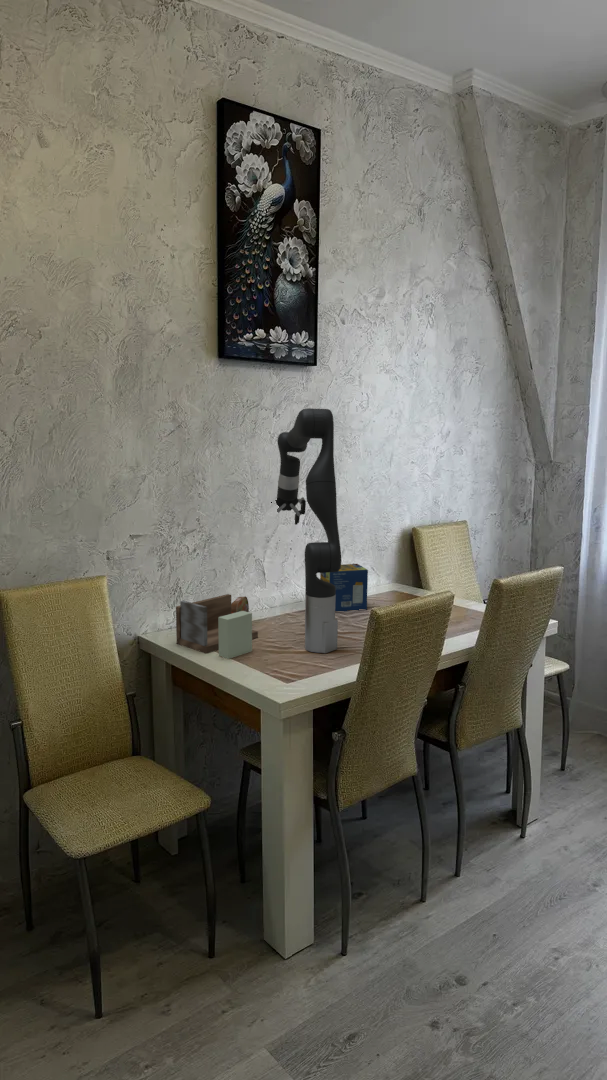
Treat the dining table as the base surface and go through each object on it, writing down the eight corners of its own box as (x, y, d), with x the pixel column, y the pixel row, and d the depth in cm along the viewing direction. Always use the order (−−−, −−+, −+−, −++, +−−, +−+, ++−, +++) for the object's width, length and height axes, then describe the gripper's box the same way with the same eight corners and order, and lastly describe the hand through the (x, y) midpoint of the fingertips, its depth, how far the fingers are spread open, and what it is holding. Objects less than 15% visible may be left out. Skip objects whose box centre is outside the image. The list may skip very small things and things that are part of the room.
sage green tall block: (252, 651, 229) (251, 613, 227) (227, 659, 221) (227, 619, 219) (242, 648, 231) (242, 610, 229) (218, 656, 224) (218, 617, 222)
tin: (237, 629, 252) (237, 604, 250) (228, 628, 252) (228, 604, 251) (249, 617, 266) (249, 594, 265) (241, 616, 267) (241, 593, 266)
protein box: (319, 605, 282) (319, 565, 280) (357, 603, 287) (358, 563, 284) (328, 613, 273) (329, 571, 270) (367, 610, 277) (368, 568, 274)
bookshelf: (257, 637, 242) (257, 595, 240) (206, 653, 226) (205, 608, 224) (228, 628, 252) (227, 588, 249) (176, 643, 235) (175, 600, 233)
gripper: (271, 489, 267) (267, 529, 275) (309, 488, 270) (305, 528, 278) (267, 480, 273) (264, 519, 281) (304, 480, 277) (300, 518, 284)
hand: (284, 524), depth 280 cm, fingers open, 8 cm apart
